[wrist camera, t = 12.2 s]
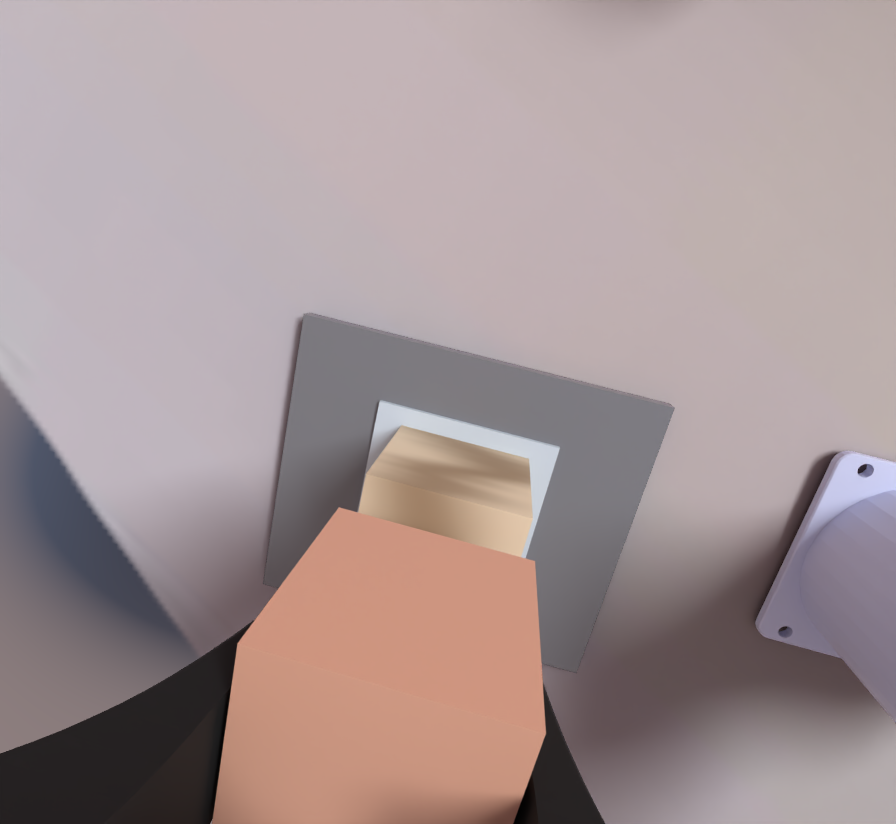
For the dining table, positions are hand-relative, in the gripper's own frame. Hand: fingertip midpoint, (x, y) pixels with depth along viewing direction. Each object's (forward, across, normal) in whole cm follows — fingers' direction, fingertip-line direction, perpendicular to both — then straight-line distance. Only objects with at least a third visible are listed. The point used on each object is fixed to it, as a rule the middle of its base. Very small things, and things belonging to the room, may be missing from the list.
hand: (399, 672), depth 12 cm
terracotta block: (+2, 0, 0) cm, 2 cm away
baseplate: (+10, 0, 0) cm, 10 cm away
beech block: (+9, 0, 0) cm, 9 cm away
